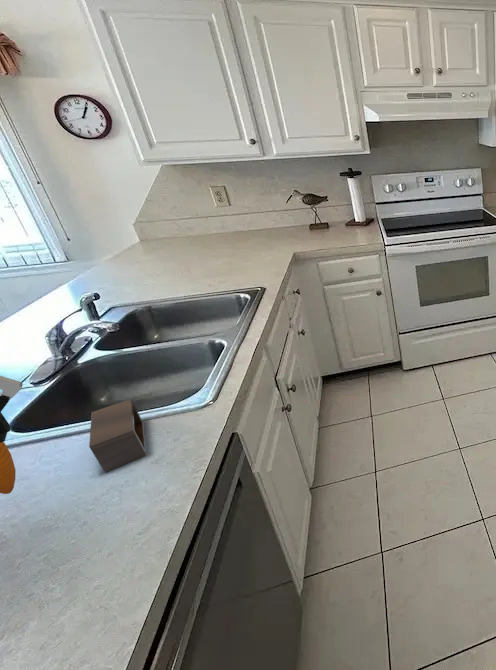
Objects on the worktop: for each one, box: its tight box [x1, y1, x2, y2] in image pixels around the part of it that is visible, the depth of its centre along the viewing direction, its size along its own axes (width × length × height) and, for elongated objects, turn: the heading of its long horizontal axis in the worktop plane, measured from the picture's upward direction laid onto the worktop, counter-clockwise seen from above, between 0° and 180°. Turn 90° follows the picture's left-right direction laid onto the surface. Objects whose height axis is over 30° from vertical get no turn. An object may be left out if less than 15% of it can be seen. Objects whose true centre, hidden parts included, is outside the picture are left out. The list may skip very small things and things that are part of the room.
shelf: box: [88, 398, 147, 474], centre depth 87 cm, size 13×7×7 cm, turn 41°
